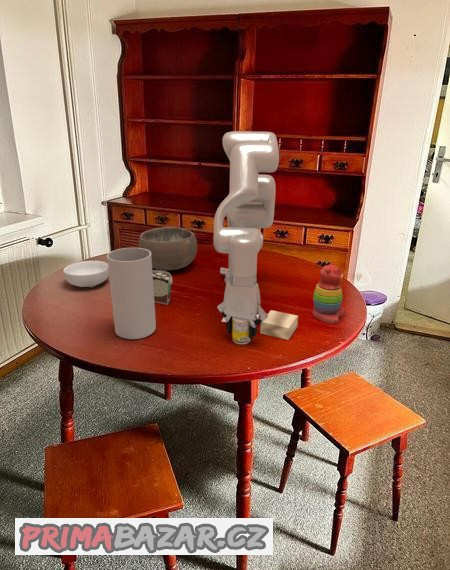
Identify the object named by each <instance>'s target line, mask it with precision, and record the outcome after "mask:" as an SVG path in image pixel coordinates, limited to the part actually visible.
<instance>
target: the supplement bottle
mask: <svg viewBox="0 0 450 570" xmlns="http://www.w3.org/2000/svg"><path fill="white" fill-rule="evenodd" d="M250 327H251V323H250V321H249V320H246V319H241V318H237V317H232V332H231V335H232V336H231V337H232V342H234V344H237V345H247V344H249V343H250V342H251V340H252V339H249V333H250Z"/></svg>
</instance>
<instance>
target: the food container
mask: <svg viewBox="0 0 450 570" xmlns="http://www.w3.org/2000/svg"><path fill="white" fill-rule="evenodd" d="M152 273H153V289H154V303H157V304H162V305H169V304H170V303H171V286H172V283H173V277H172V275H171V273H170V272H169V271H164V270H158V269H155V270H154V269H153V270H152Z"/></svg>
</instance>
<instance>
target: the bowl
mask: <svg viewBox="0 0 450 570" xmlns="http://www.w3.org/2000/svg"><path fill="white" fill-rule="evenodd" d="M138 248H143V249H147V250H149V251H150V252H151V258H152V269H153V270H154V269H155V270H159V271H166V272H169V271H174V270H180V269H183V268H185V267H188V265H190V264H191V263H192V262H193V260H194V259H195V257H196V255H197V252H198V240H197V238H196V235H195V233H194V232H192V231H191V230H189V229H186V228H183V227H177V226H163V227H155V228H152V229H148V230H146V231H143V232H141V234H140V236H139V237H138Z"/></svg>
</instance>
